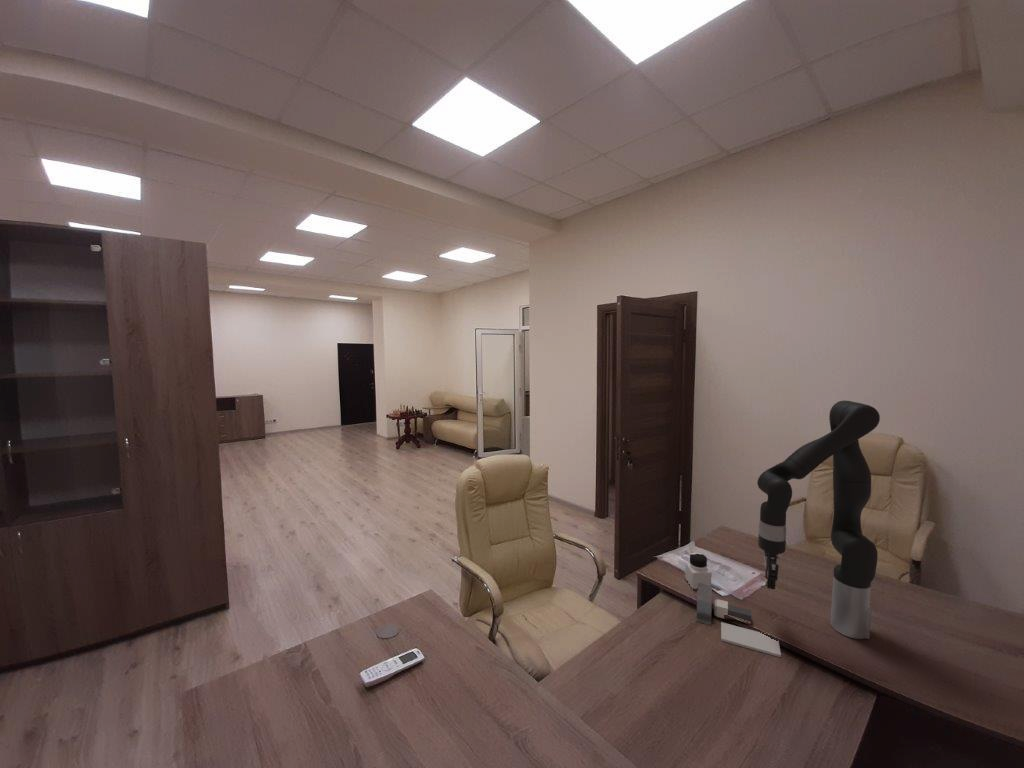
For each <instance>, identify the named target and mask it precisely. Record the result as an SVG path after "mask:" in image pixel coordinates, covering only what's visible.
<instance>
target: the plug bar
mask: <svg viewBox="0 0 1024 768" xmlns="http://www.w3.org/2000/svg"><path fill="white" fill-rule="evenodd" d="M728 603H729V602H728V601H726V600H723V599H718V598H716V599H714V616H715V617H716V618H720V619H725V618H724V615H731V616H735V617H738V618H741V619H744V620H747V621H750V622H751V623H752V617H753V616H752V610H751V609H747V608H743V607H741V606H740V607H739V606H737V605H736V606H735V605H731V604H728ZM725 620H726V619H725Z"/></svg>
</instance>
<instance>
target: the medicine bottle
mask: <svg viewBox="0 0 1024 768" xmlns="http://www.w3.org/2000/svg"><path fill="white" fill-rule="evenodd" d="M684 567H685V571H684V572H685V573H684V574H685V575H684V578H685V580H686V582H687V581H688V582H687V583H688V584H690V585H689V586H690V588H691V587H692V588H696V589H697V588H698V583H702V584H706V585H711V586H712V571H711V570H710V569H709V567H708V558H707V556H706V555H705V554H703V553H701V552H692V553H690V555H689V562H688V561H687V562H685V566H684ZM692 588H691V589H692ZM697 590H698V589H697Z"/></svg>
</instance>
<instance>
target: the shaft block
mask: <svg viewBox="0 0 1024 768" xmlns="http://www.w3.org/2000/svg"><path fill="white" fill-rule="evenodd" d="M712 597H713V585H712V584H711V585H706V584H702V583H698V589H697V595H696V620H695V621H696V622H697V623H701V624H704V625H709V626H712V607H713V606H712V605H713V604H712V603H713V602H712V601H713V598H712Z"/></svg>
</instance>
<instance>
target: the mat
mask: <svg viewBox="0 0 1024 768" xmlns="http://www.w3.org/2000/svg"><path fill="white" fill-rule="evenodd" d="M762 633H763V632H761V633H760V631H758V630H757V631H756V630H754V629H753V630H752V629H750V628H746V627H741V626H736V625H734V624H729V623H727V622H722V621H721V622H720V640H721V642H725V643H729V644H732V645H735V646H739V647H742V648H746V649H750V650H753V651H757V652H760V653H764V654H767V655H771V656H774V657H777V658H782V653H781V648H780V643H779V640H778V641H776V640H774V639H771V638H770V637H768V636H766V635H764V634H765V633H764V634H762Z"/></svg>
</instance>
